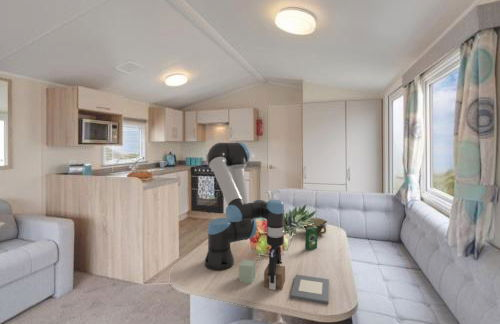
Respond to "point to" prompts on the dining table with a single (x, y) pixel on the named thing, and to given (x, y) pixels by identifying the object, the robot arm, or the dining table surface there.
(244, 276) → the sage brick
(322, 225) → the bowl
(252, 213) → the robot arm
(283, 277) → the walnut block
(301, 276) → the grey flat slab
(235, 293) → the dining table surface
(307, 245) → the coffee box
